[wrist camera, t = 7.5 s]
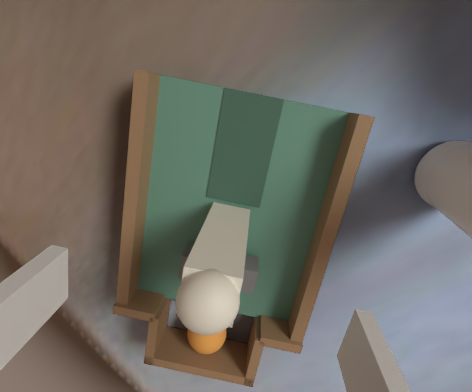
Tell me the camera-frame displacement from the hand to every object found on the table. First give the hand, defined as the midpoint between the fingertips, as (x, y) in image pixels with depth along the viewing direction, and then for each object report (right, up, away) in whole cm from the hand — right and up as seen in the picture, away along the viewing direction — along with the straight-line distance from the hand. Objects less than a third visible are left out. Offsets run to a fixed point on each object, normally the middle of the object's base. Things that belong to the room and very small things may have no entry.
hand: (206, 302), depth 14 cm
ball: (-1, -8, +14) cm, 16 cm away
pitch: (+1, +1, +13) cm, 13 cm away
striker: (+1, +1, +12) cm, 12 cm away
